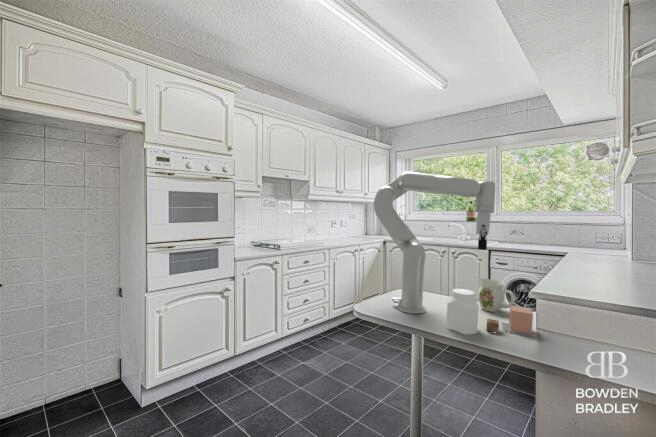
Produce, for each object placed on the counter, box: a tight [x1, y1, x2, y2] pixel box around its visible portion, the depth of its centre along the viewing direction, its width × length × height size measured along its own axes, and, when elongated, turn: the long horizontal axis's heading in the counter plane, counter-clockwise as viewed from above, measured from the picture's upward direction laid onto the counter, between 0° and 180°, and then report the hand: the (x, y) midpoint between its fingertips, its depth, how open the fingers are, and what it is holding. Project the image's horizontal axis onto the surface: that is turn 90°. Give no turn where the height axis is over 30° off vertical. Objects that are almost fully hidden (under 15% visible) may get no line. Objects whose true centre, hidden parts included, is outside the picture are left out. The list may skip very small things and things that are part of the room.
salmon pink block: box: [508, 305, 534, 334], centre depth 126 cm, size 7×7×8 cm
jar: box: [445, 288, 480, 335], centre depth 126 cm, size 12×10×15 cm
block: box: [486, 318, 500, 334], centre depth 125 cm, size 4×4×4 cm
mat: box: [501, 322, 534, 338], centre depth 127 cm, size 10×10×1 cm
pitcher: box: [474, 277, 515, 313], centre depth 149 cm, size 11×18×14 cm, turn 40°
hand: (482, 247), depth 141 cm, fingers open, 9 cm apart
